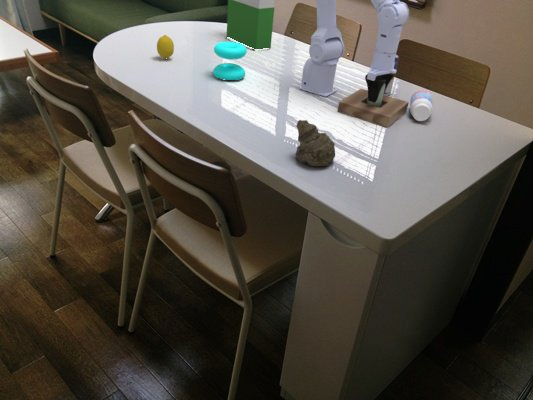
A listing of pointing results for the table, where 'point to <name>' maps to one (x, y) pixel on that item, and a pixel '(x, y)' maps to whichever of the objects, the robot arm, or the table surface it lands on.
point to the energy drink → (389, 87)
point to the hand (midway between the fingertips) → (375, 99)
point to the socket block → (372, 108)
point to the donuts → (230, 52)
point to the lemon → (165, 46)
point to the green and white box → (251, 22)
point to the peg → (379, 100)
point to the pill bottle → (421, 105)
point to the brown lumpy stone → (314, 145)
